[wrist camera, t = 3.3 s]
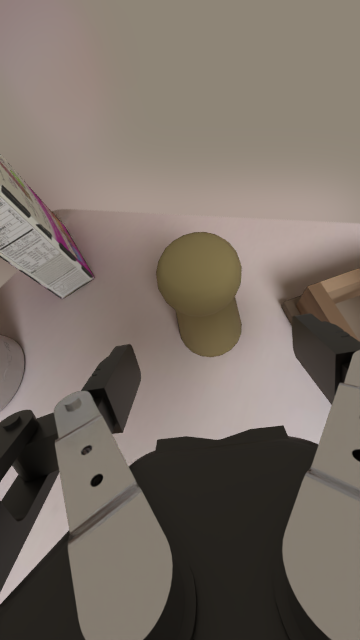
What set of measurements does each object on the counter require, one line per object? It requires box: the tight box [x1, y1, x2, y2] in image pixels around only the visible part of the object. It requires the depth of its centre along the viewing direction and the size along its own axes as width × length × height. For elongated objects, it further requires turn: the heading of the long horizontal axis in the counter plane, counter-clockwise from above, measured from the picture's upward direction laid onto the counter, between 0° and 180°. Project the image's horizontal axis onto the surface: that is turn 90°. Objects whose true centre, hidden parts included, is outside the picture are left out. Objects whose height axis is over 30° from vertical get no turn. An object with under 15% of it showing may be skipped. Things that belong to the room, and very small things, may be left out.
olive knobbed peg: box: [156, 232, 242, 357], centre depth 18 cm, size 6×6×11 cm
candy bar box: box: [0, 155, 94, 299], centre depth 23 cm, size 11×5×16 cm, turn 33°
